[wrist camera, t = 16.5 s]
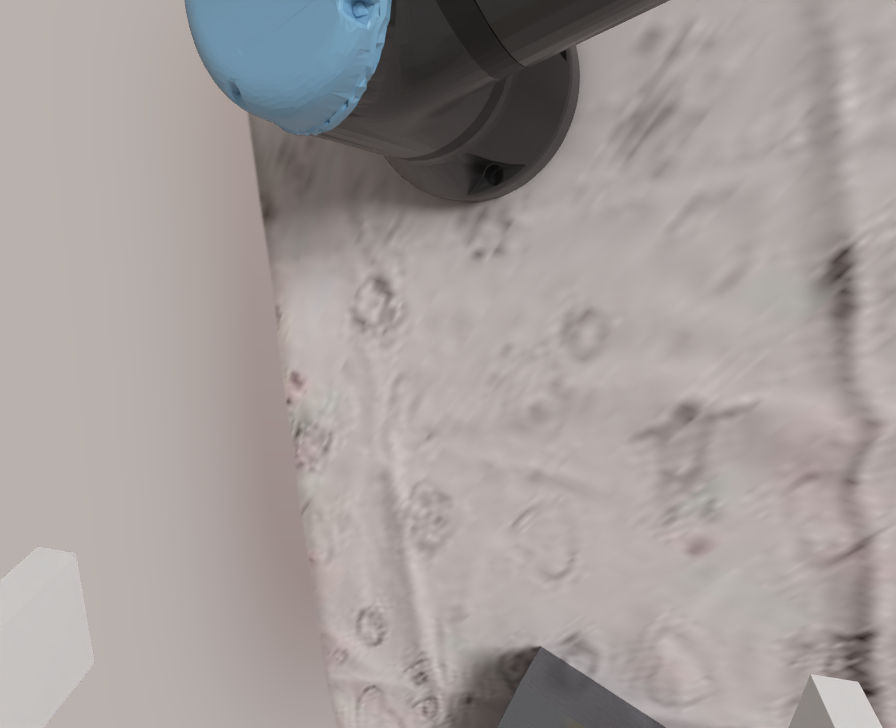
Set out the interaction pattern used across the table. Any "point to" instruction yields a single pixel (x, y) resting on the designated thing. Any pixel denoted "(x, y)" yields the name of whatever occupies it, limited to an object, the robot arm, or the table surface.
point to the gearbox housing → (567, 700)
